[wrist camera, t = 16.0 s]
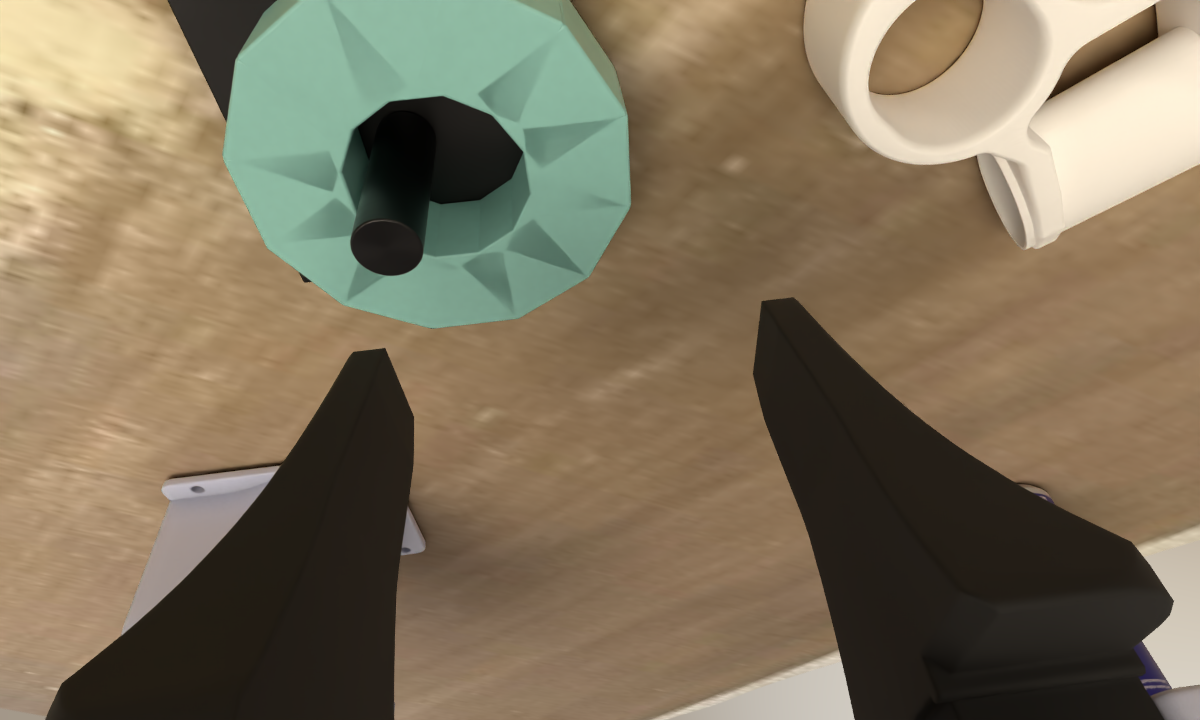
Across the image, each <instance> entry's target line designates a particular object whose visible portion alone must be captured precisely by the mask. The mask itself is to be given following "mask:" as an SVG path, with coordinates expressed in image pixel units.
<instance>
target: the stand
mask: <svg viewBox="0 0 1200 720" xmlns="http://www.w3.org/2000/svg"><path fill="white" fill-rule="evenodd" d="M276 1H277V0H168V2H169V4H170V7H171V9H172V11H173V13H174V15H175V17H176V19H177V21H178V23H179V25H180V27H181V29H182V31H183V33H184V36H185V38H186V40H187V42H188V44H189V46H190V48H191V50H192V52H193V54H194V56H195V58H196V60H197V62H198V64H199V67H200V69H201V71H202V73H203V75H204V77H205V79H206V81H207V83H208V85H209V87H210V89H211V91H212V93H213V95H214V98H215V100H216V102H217V104H218V106H219V108H220V110H221V112H222V114H223V116H224V118H225V120H226V122H227V117H228V110H229V103H230V95H231V88H232V81H233V73H234V66H235V60H236V58H237V57H238V54H239V52H240V51H241V49H242V48H243V46H244V44H245V43H246V41H247V39H248V38H249V36H250V34H251V33H252V31H253V29H254V28H255V26H256V25H257V23H258V21H259V20H260V18H261V16H262V15H263V13H264V12H265V11H266V10H267V9H268V8H269V7H270V6H271V5H272V4H273V3H274V2H276ZM358 130H359V133H360V136H361V139H362V142H363V145H364V148H365V151H366V154H367V157H368V160H369V164H368V168H367V172H366V176H365V180H364V184H363V188H362V193H361V197H360V201H359V205H358V209H357V213H356V217H355V222H354V226H353V230H352V234H351V239H350V247H351V251H352V253H353V255H354V257H355V259H356V260H357V261H358V262H359V263H360V264H361V265H362V266H363V267H365V268H366V269H368V270H369V271H371V272H374V273H376V274H380V275H385V276H398V275H403V274H406V273H408V272H410V271H412V270H413V269H414V268H416V267H417V266H418V264H419V263H420V262H421V260H422V257H423V252H424V244H425V236H426V227H427V219H428V210H429V202H430V201H432V202H435V203H438V204H448V203H457V202H466V201H475V200H481V199H482V198H484V197H485V196H487V195H488V194H490V193H491V192H493V191H494V190H496V189H497V188H499V187H500V186H502V185H503V184H505V183H506V182H507V181H509V180H510V179H512V177H513V174H514V172H515V170H516V168H517V166H518V163H519V161H520V159H521V157H522V154H523V151H522V150H521V149H520V147H519V146H518V145H517V144H516V143H515V142H514V140H513V139H512V138H511V137H510V136H509V134H508V133H507V132H506V131H505V130H504V129H503V127H502V126H501V125H500V124H499V123H498V122H497V120H496V119H495V118H494V117H493V116H492V115H490V114H488V113H485V112H483V111H480V110H478V109H475V108H473V107H470V106H468V105H465V104H463V103H460V102H458V101H455V100H453V99H450V98H447V97H445V96H437V97H427V98H418V99H409V100H400V101H390V102H388V103H387V104H386V105H385V106H383V107H382V108H381V109H380V110H378V111H377V112H376V113H374V114H373V115H372V116H371V117H369V118H368V119H367V120H366V121H364V122H363V123H362V124H360V125H359V126H358ZM299 273H300V272H299ZM300 275H301V277H302V279H303V281H304V282H312V281H310V280H309V279H308V278H306V277H305V276H304V275H302V274H301V273H300Z"/></svg>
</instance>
